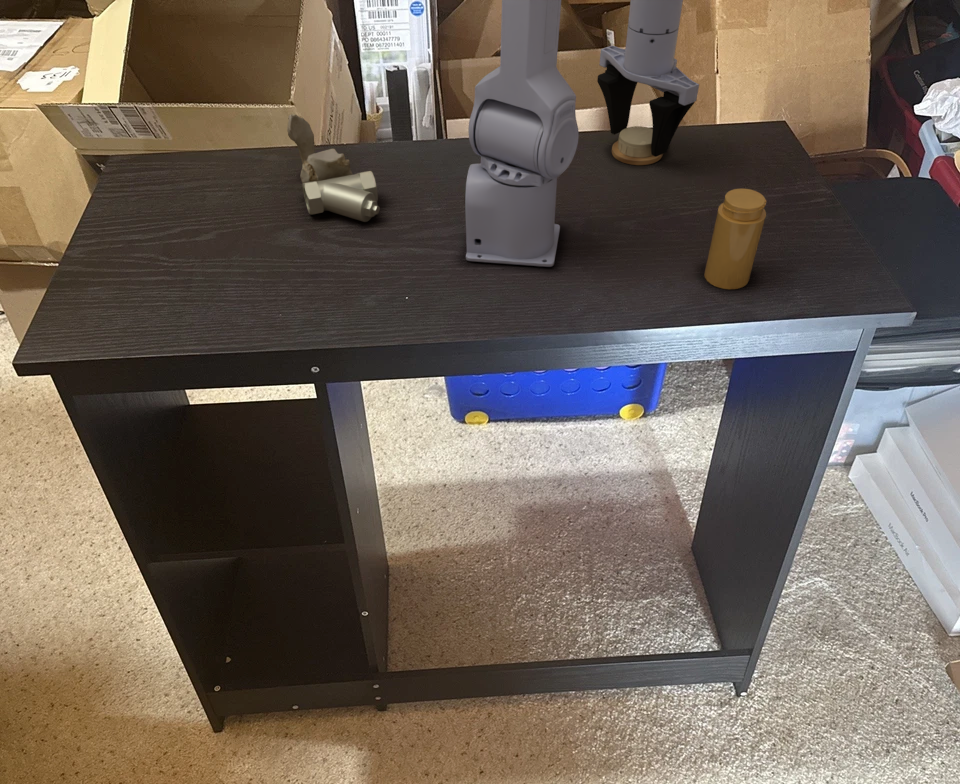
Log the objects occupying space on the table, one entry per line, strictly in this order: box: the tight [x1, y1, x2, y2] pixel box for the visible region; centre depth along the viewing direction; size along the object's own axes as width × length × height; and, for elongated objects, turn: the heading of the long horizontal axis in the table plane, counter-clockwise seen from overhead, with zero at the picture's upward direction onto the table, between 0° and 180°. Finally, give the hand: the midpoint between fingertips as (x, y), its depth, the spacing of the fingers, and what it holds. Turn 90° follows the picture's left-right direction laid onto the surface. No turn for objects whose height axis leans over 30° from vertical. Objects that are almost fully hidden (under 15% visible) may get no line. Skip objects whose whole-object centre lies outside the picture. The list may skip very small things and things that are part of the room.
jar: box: [703, 188, 767, 290], centre depth 84 cm, size 5×5×9 cm
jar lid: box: [617, 125, 653, 158], centre depth 104 cm, size 5×5×2 cm
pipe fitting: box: [301, 170, 381, 223], centre depth 95 cm, size 8×4×7 cm
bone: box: [286, 113, 353, 183], centre depth 98 cm, size 9×6×10 cm
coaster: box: [611, 140, 664, 166], centre depth 105 cm, size 6×6×1 cm
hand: (638, 142), depth 104 cm, fingers open, 7 cm apart
